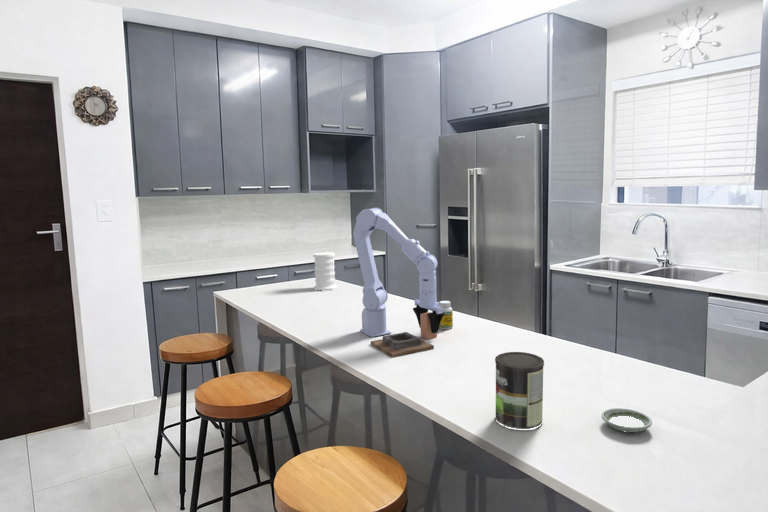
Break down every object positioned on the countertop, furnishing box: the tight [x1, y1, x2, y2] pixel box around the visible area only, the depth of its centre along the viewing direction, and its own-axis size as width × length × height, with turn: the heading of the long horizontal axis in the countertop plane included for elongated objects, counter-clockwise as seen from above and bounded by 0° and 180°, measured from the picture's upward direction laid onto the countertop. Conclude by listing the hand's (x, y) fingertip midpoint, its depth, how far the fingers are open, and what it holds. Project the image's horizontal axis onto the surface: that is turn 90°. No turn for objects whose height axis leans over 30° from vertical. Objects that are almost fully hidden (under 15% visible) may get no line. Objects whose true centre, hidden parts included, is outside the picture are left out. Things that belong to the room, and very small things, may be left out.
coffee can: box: [494, 351, 545, 429], centre depth 113 cm, size 10×10×14 cm
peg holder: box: [370, 331, 435, 358], centre depth 168 cm, size 15×15×3 cm
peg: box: [419, 311, 438, 340], centre depth 177 cm, size 4×4×8 cm
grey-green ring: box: [601, 407, 653, 433], centre depth 110 cm, size 10×10×2 cm
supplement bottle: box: [438, 300, 454, 330], centre depth 187 cm, size 5×5×10 cm
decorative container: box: [312, 251, 338, 291], centre depth 263 cm, size 12×12×18 cm
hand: (428, 330), depth 177 cm, fingers open, 7 cm apart
